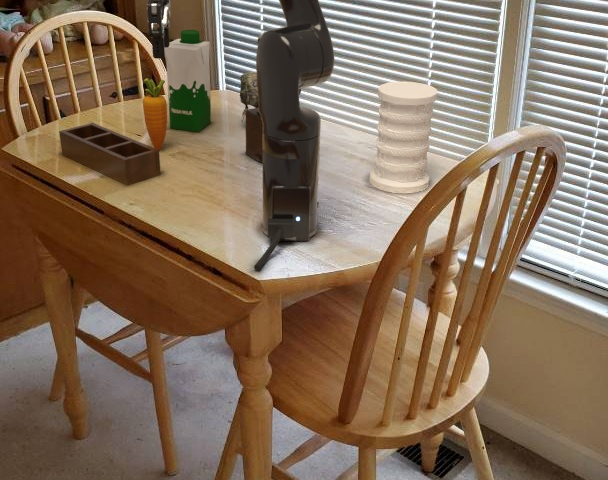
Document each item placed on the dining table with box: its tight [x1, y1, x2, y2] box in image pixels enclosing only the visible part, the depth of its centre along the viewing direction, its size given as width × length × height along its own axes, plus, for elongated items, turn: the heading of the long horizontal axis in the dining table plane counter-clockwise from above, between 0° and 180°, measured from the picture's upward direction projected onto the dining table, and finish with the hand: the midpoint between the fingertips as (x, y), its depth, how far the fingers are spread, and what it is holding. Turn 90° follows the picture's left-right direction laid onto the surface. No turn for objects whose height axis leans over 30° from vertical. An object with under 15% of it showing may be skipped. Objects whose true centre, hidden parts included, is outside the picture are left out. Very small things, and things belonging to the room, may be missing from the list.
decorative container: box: [369, 81, 438, 194], centre depth 153 cm, size 12×12×18 cm
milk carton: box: [164, 29, 212, 133], centre depth 177 cm, size 9×9×20 cm
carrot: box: [142, 77, 168, 151], centre depth 165 cm, size 5×5×15 cm
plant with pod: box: [239, 31, 266, 123], centre depth 179 cm, size 8×11×20 cm
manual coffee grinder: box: [244, 89, 302, 164], centre depth 161 cm, size 16×11×18 cm
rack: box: [58, 122, 162, 186], centre depth 160 cm, size 8×22×5 cm, turn 47°
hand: (161, 52), depth 159 cm, fingers open, 8 cm apart
